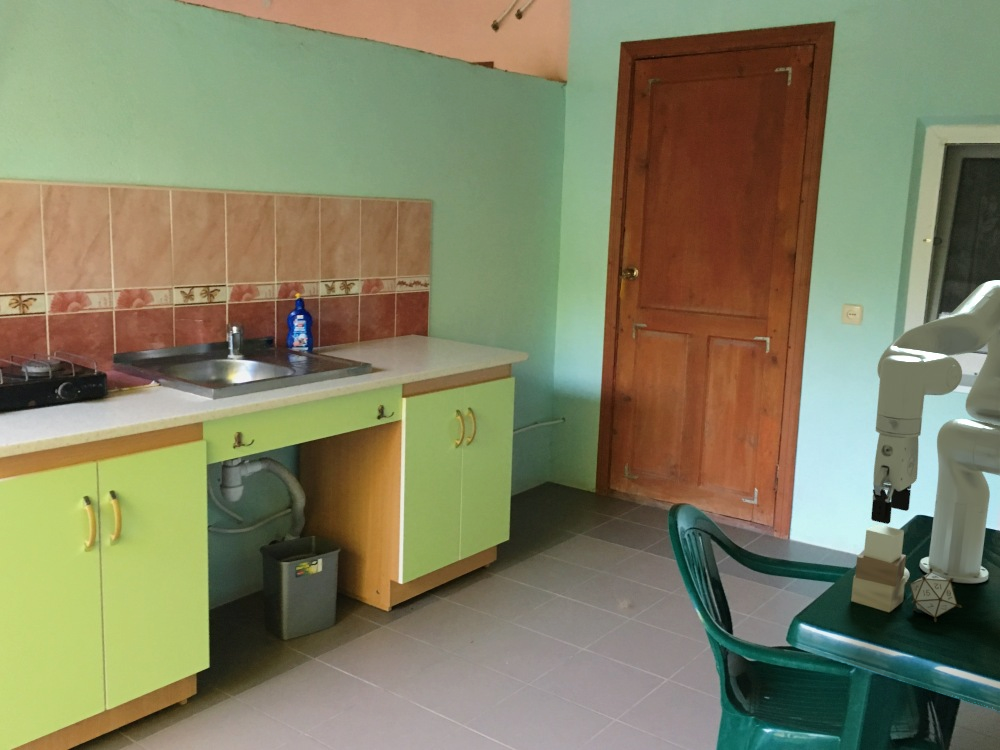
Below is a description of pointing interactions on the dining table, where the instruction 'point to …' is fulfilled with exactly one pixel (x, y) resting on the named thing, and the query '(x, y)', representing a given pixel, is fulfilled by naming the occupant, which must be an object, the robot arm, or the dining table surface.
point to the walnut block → (880, 570)
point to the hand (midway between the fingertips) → (890, 515)
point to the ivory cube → (883, 543)
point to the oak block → (878, 594)
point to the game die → (933, 594)
